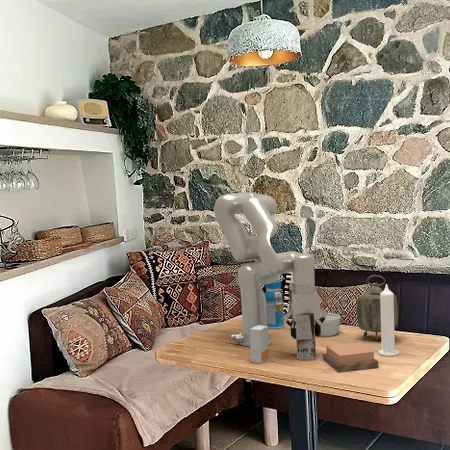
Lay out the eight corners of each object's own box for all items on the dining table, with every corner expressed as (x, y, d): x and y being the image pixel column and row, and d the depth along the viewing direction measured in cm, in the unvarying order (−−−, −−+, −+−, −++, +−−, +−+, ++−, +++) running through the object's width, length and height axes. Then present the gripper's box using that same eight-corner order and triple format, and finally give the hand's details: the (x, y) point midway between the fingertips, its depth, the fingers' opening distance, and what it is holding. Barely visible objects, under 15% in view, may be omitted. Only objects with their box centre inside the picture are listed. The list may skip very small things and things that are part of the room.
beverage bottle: (264, 329, 253) (262, 282, 251) (266, 324, 261) (264, 279, 260) (284, 329, 252) (282, 282, 250) (285, 324, 260) (283, 278, 258)
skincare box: (261, 363, 207) (259, 330, 206) (250, 362, 210) (249, 328, 209) (269, 358, 212) (268, 325, 211) (258, 357, 215) (257, 324, 214)
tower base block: (338, 375, 195) (338, 366, 194) (323, 362, 208) (323, 353, 208) (378, 370, 197) (378, 361, 197) (360, 357, 211) (360, 349, 211)
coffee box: (315, 360, 208) (313, 314, 207) (296, 359, 210) (294, 314, 208) (316, 352, 217) (314, 308, 216) (298, 352, 218) (297, 308, 217)
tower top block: (340, 364, 196) (339, 355, 195) (326, 354, 207) (326, 345, 207) (374, 360, 198) (373, 351, 198) (358, 350, 210) (358, 342, 209)
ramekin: (341, 329, 248) (340, 312, 247) (340, 337, 235) (339, 320, 235) (309, 328, 251) (308, 312, 250) (306, 337, 238) (305, 320, 238)
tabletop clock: (398, 337, 231) (397, 273, 229) (394, 344, 223) (392, 278, 221) (361, 334, 238) (360, 272, 236) (355, 340, 230) (353, 276, 228)
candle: (399, 351, 214) (397, 282, 212) (398, 357, 207) (396, 286, 205) (378, 350, 216) (377, 282, 214) (377, 355, 210) (375, 285, 208)
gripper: (283, 292, 206) (285, 342, 207) (331, 288, 209) (332, 337, 211) (277, 288, 213) (279, 336, 215) (323, 284, 217) (325, 332, 218)
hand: (305, 336), depth 213 cm, fingers closed on coffee box, 8 cm apart
